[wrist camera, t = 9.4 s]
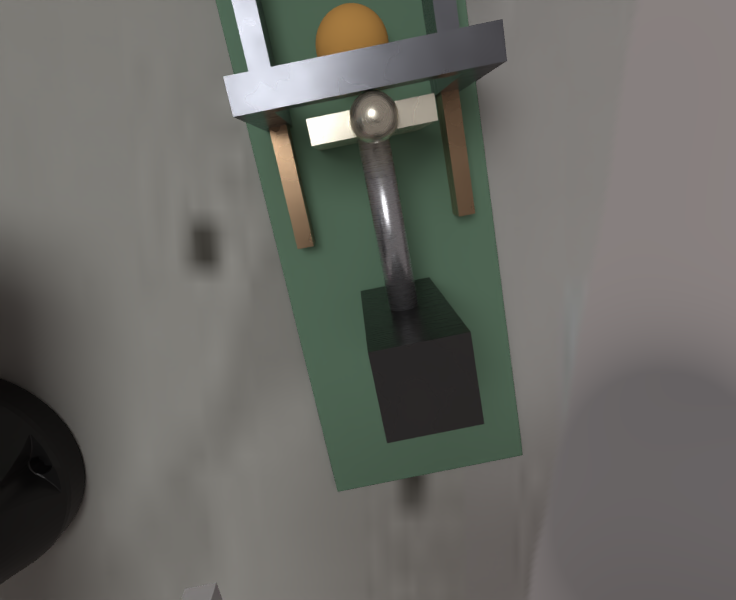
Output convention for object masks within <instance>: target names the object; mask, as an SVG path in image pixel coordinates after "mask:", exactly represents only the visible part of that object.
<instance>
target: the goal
mask: <svg viewBox="0 0 736 600" xmlns="http://www.w3.org/2000/svg"><path fill="white" fill-rule="evenodd" d="M231 1H232V5H233V9H234V13H235V17H236V21H237V26H238V30H239V34H240V38H241V42H242V46H243V50H244V55H245V59H246V63H247V67H248V72H243V73H239V74H234V75H229V76H224V77H223V78H224V82H225V86H226V90H227V94H228V98H229V101H230V105H231V109H232V113H233V117H235V118H237V119H239V120H242V121H244V122H246V123H248V124H251V125H253V126H255V127H257V128H260V129H262V130H264V131H267V132H268V131H270V135H271V139H272V143H273V148H274V152H275V156H276V160H277V164H278V169H279V173H280V177H281V181H282V185H283V190H284V194H285V198H286V202H287V207H288V211H289V215H290V219H291V223H292V228H293V232H294V236H295V240H296V244H297V249H302V248H307V247H312V246H314V244H315V237H314V233H313V228H312V224H311V220H310V215H309V211H308V206H307V202H306V198H305V193H304V189H303V184H302V180H301V175H300V171H299V167H298V162H297V158H296V153H295V149H294V145H293V140H292V136H291V131H290V127H292V126H293V125H292V121H291V116H290V112H289V109H293V108H298V107H303V106H308V105H312V104H317V103H322V102H327V101H332V100H337V99H342V98H347V97H351V96H356V95H361V94H362V93H364V92H367V91H371V90H377V91H381V90H386V89H391V88H395V87H400V86H405V85H410V84H415V83H420V82H425V81H430V85H431V92H432V93H434V95H435V97H436V103H437V110H438V116H439V123H440V130H441V137H442V144H443V150H444V157H445V164H446V171H447V177H448V184H449V191H450V198H451V205H452V211H453V214H454V215H457V216H459V217H460V216H465V215H470V214H475V207H474V200H473V192H472V185H471V177H470V170H469V163H468V155H467V148H466V140H465V133H464V126H463V118H462V111H461V103H460V96H459V92H460V91H461V90H463V89H465V88H466V87H468V86H469V85H471V84H472V83H474V82H475V81H477V80H478V79H480V78H481V77H483V76H484V75H486V74H487V73H489V72H491V71H492V70H494V69H495V68H497V67H498V66H500V65H501V64H503V63H504V62H506V61H507V57H506V47H505V38H504V29H503V20H502V19H501V20H496V21H491V22H486V23H482V24H477V25H472V26H467V27H462V28H460V27H459V19H458V12H457V4H456V0H421V1H422V8H423V15H424V22H425V28H426V35H423V36H418V37H413V38H409V39H404V40H399V41H394V42H389V43H384V44H379V45H375V46H370V47H365V48H360V49H355V50H350V51H345V52H341V53H336V54H331V55H326V56H321V57H316V58H311V59H307V60H302V61H297V62H292V63H287V64H282V65H277V66H276V65H275V61H274V56H273V52H272V47H271V43H270V39H269V34H268V30H267V25H266V21H265V16H264V12H263V8H262V3H261V0H231Z"/></svg>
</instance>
